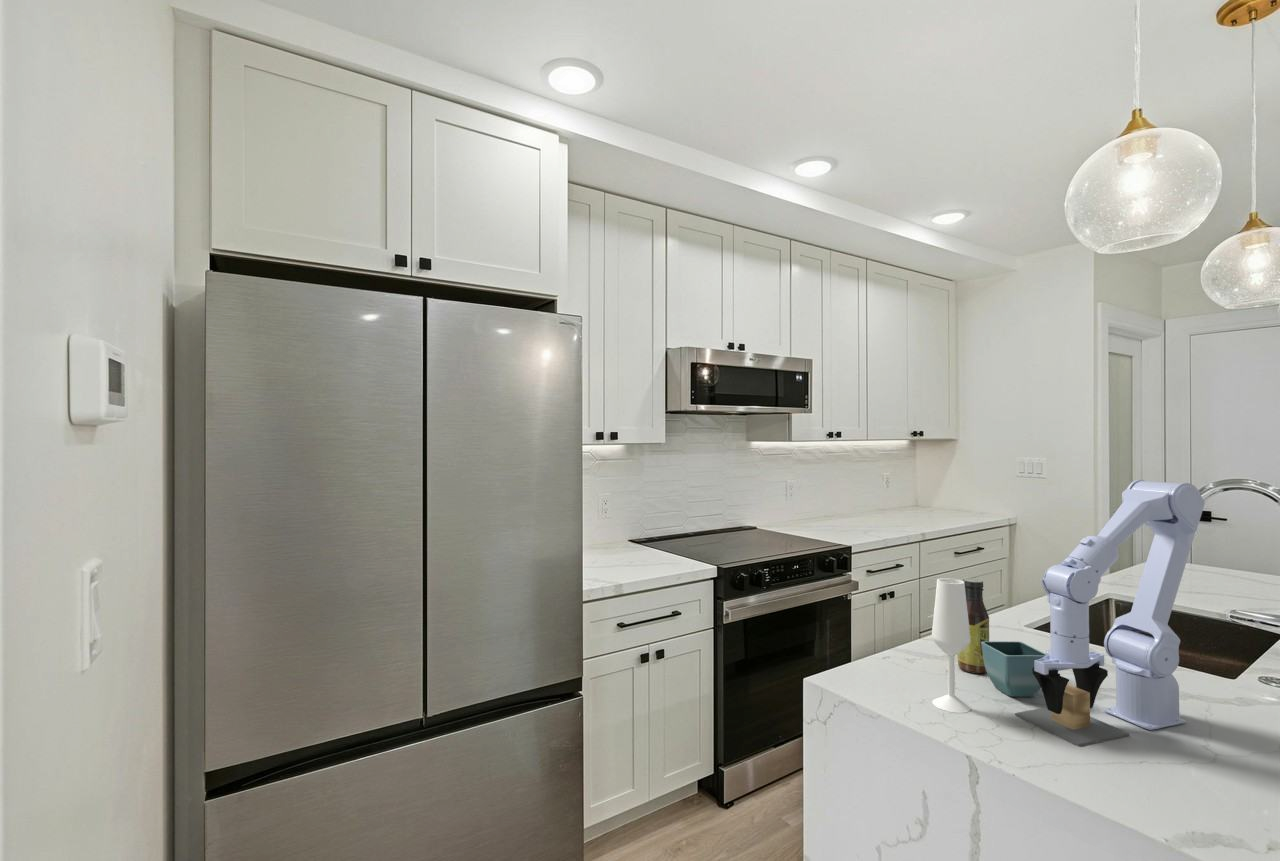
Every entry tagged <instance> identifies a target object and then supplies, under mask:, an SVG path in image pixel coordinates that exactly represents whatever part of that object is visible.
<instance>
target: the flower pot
mask: <svg viewBox="0 0 1280 861" xmlns="http://www.w3.org/2000/svg"><path fill="white" fill-rule="evenodd" d="M981 644H982V652H983V659H984V665H985V669H986V674H987V676H988V677H989V679H990V681H991V683H992V684H993V686H994V687H995V688H996V689H998V690H999V691H1001V692H1002V693H1004V694H1005V695H1006V696H1008V697H1034V696H1035V695H1036V694H1037V693H1038V692H1039V691H1040V689H1041V687H1040V685H1039V683H1038V681H1037V679H1036V677H1035V676H1034V674H1033V673H1032V668H1033V667H1034V660H1038V659H1041V658H1043V657H1045V656H1046V652H1045V653H1044V652H1043V651H1041V650H1039V649H1036V648H1034V647H1033V646H1031V645H1028V644H1026V643H1024V642H1022V641H1017V640H1015V641H1013V640H1012V641H1005V640H1004V641H1000V640H999V641H995V640H993V641H992V640H989V641H984V642H981Z"/></svg>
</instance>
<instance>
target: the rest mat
mask: <svg viewBox="0 0 1280 861" xmlns="http://www.w3.org/2000/svg"><path fill="white" fill-rule="evenodd" d="M1014 715H1015V716H1016V717H1018V718H1020V719H1022V720H1023V721H1026V722H1029V723H1031V724H1033V725H1034V726H1037V727H1038V728H1040V729H1043V730H1044V731H1046V732H1049V733H1050V734H1053V735H1055V736H1057V737H1058V738H1061V739H1063V740H1065V741H1067V742H1069V743H1071V744H1073V745H1075V746H1077V747H1082V746H1086V745H1092V744H1096V743H1097V744H1098V743H1100V742H1101V743H1102V742H1105V741H1106V742H1107V741H1110V740H1115V739H1121V738H1124V737H1130V733H1129V732H1127V731H1125V730H1123V729H1120V728H1118V727H1115V726H1113V725H1111V724H1108V723H1106V722H1104V721H1101V720H1099V719H1098V718H1095V717H1093V716H1090V727H1085V728H1080V729H1075V730H1073V729H1071V728H1068V727H1066V726H1064V725H1062V724H1060V723H1058V722H1056V721H1054V720H1052V711H1050V710H1048V708H1047V706H1046V707H1041V708H1036V709H1030V710H1029V709H1028V710H1024V711H1019V712H1014Z"/></svg>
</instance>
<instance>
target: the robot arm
mask: <svg viewBox="0 0 1280 861" xmlns="http://www.w3.org/2000/svg"><path fill="white" fill-rule="evenodd" d="M1200 492H1201V491H1200V490H1199V489H1198V488H1197V487H1196V485H1194V484H1192V483H1188V482H1168V481H1167V482H1165V481H1152V480H1144V479H1136V480H1132V482H1130V484H1128V486H1127V488H1126V489H1125V490H1123V491H1122V493H1121V501H1122V503H1121V504H1120V506H1119V507H1118V508H1117V510H1116V511H1115V512H1114V513H1113V515H1112V516H1111V517H1110V519H1109V520H1108V521H1107V523H1106V524H1105V525H1104V527H1102V529H1101V530H1100V532H1099V533H1098V534H1097V535H1088V536H1085V537H1083V538H1082V539H1081V540H1080V541H1079V544H1077V546H1076V547H1075V548H1074V549H1073V550H1072V552H1071V553H1070V554H1069V555H1067V557H1066V558H1065V559H1064V560H1063V561H1062V562H1061V563H1058V564H1053V565H1052V566H1050V567H1048V568H1047V570H1045V572H1044V574H1043V578H1041V585H1042V588H1043V589H1044V591H1045V593H1046V598H1047V600H1046V601H1047V602H1048V604H1049V606H1050V607H1049V608H1050V609H1049V610H1050V612H1049V613H1050V614H1049V616H1050V618H1049V619H1050V620H1049V622H1050V625H1049V626H1050V629H1049V630H1050V631H1049V632H1050V649H1048V650H1046V651H1045V654H1046V656H1045V657H1043V658H1041V659H1038V660H1034V667H1033V668H1032V673H1033V674H1034V676H1035V677H1036V679H1037V681H1038V683H1039V685H1040V687H1041V688H1040V689H1041V691H1042V695H1043V698H1044V701H1045V705H1046V707H1047V708H1048V710H1050V711H1052V712H1054V713H1056V714H1061V712H1062V708H1063V696H1064V691H1065V688H1066V686H1067V684H1069V682H1070V679H1069V678H1067V677H1064V676H1061V673H1059V671H1067V670H1072V673H1073V677H1074V680H1075V685H1076V686H1075V687H1077V688H1079V689H1082V690H1084V691H1087V692H1089V693H1090V709H1093V707H1094V705H1095V701H1096V698H1097V696H1098V691H1099V689H1100V687H1101V685H1102V684H1103V682H1104V681H1105V680H1106V678H1107V677H1108V674H1109V671H1108V670H1107V669H1105V668H1103V667H1104V666H1105V655H1104V654H1101V653H1098V652H1096V651H1090V610H1089V609H1090V601H1091V600H1093V599H1094V598H1096V596H1097V594H1098V590H1099V585H1100V584H1101V581H1102V577H1103V575H1104V574H1105V573H1106V572H1107V570H1109V569H1110V568H1111V566H1112V565H1113V564H1114V563H1115V562H1116V561H1118V559H1119V557H1120V555H1119V549H1118V547H1120V546H1121V544H1122V543H1124V542H1125V541H1126V540H1127V539H1129V537H1131V536H1132V535H1133V534H1134V533H1135V532H1136V531H1137V530H1139V528H1140V527H1141V526H1143V525H1145V526H1147V527H1149V528H1150V529H1151V531H1152V532H1153V533H1154V536H1153V538H1152V542H1151V546H1150V549H1149V552H1148V554H1147V558H1146V562H1145V565H1144V568H1143V571H1142V575H1141V578H1140V581H1139V583H1138V587H1137V589H1136V590H1137V591H1136V593H1135V596H1134V600H1133V604H1132V605H1131V606H1132V607H1131V611H1130V612H1127V613H1126V614H1125V613H1124V614H1123V615H1120V616H1118V617H1116V618H1115V619H1114V622H1113V625H1112V626H1111V628H1110V629H1109V630H1108V631H1107V633H1106V634H1105V637H1104V640H1103V646H1104V650H1105V652H1106V654H1107V655H1108V656H1109V657H1110V658H1111V663H1112V664H1113V665H1114V666H1115V706H1111V707H1107V708H1104V710H1103V711H1104V712H1105V713H1107V714H1109V715H1112V716H1115V717H1117V718H1120V719H1122V720H1125V721H1127V722H1129V723H1131V724H1134V725H1136V726H1138V727H1141V728H1143V729H1146V730H1149V731H1152V730H1158V729H1162V728H1166V727H1167V728H1168V727H1171V726H1177V725H1182V724H1185V723H1186V721H1185V719H1183V718H1181V717H1180V686H1179V683H1178V680H1177V679H1176V677H1175V675H1173V673H1174V672H1175V671H1176V670H1177V669H1178V666H1179V663H1180V655H1179V654H1180V652H1179V648H1180V645H1181V639H1180V637H1179V636H1178V635H1177V634H1176V633H1175V631H1174V630H1173V629H1172V628H1171V627H1170V625H1169V624H1168V623H1169V620H1170V617H1171V614H1172V612H1173V607H1174V604H1175V601H1176V597H1177V594H1178V591H1179V587H1180V585H1181V582H1182V578H1183V574H1184V571H1185V567H1186V564H1187V562H1188V558H1189V555H1190V552H1191V550H1192V549H1191V548H1192V545H1193V542H1194V539H1195V536H1196V532H1197V530H1198V527H1199V523H1200V520H1201V517H1202V514H1203V510H1204V507H1205V504H1206V502H1205V500H1204V499H1203V496H1202V495H1201V493H1200ZM1143 633H1146V634H1143ZM1147 634H1149V635H1152V636H1149V635H1147Z"/></svg>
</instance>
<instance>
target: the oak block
mask: <svg viewBox="0 0 1280 861" xmlns="http://www.w3.org/2000/svg"><path fill="white" fill-rule="evenodd" d="M1090 717H1091V708H1090V693H1089V692H1087V691H1084V690H1082V689H1079V688H1077V687H1076V686H1075V685H1072V684H1069V683H1068V684H1067V686H1066V688H1065V691H1064V696H1063V708H1062V712H1061V714H1056V713H1054V712H1052V720H1054V721H1056V722H1058V723H1060V724H1062V725H1064V726H1066V727H1068V728H1071V729H1073V730H1075V729H1080V728H1085V727H1090Z"/></svg>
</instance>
